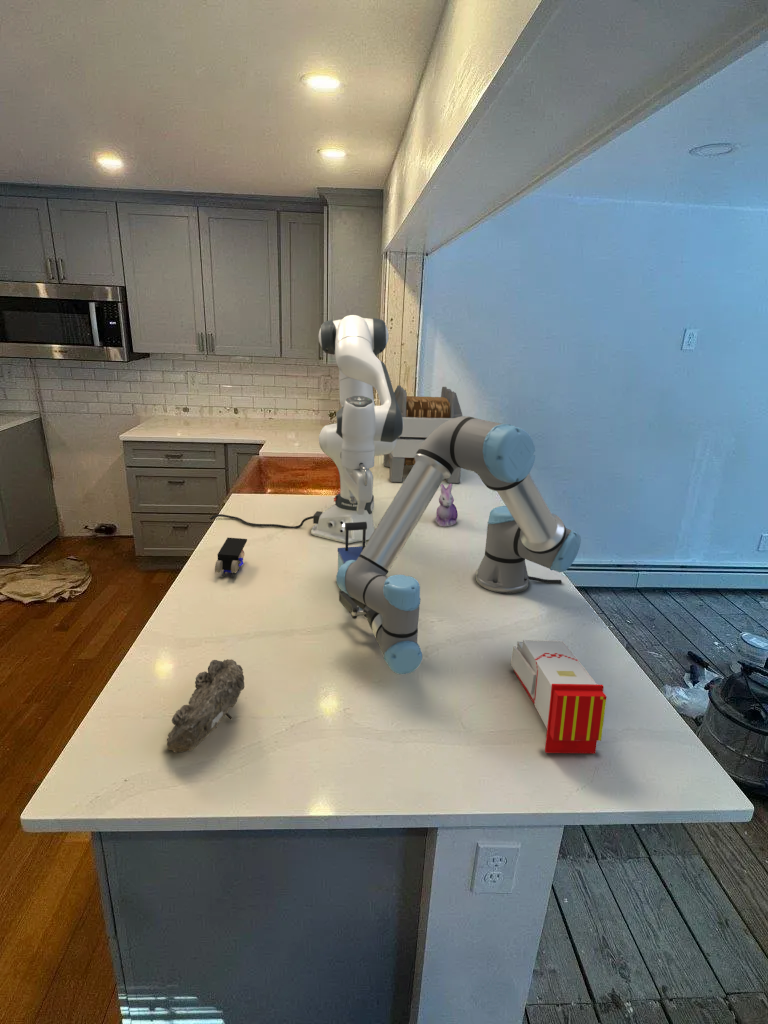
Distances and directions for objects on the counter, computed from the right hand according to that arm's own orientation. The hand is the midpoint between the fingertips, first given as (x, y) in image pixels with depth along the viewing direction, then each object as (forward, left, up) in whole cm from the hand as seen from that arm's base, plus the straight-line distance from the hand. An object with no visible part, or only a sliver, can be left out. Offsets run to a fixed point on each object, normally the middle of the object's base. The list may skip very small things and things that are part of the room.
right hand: (364, 579), depth 150 cm
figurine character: (+34, -27, -7) cm, 43 cm away
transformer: (-56, -120, -7) cm, 132 cm away
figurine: (-44, -54, -7) cm, 70 cm away
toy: (-27, +48, -7) cm, 56 cm away
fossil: (+39, +38, -7) cm, 54 cm away
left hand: (0, -12, +16) cm, 20 cm away
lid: (0, -5, +2) cm, 6 cm away
